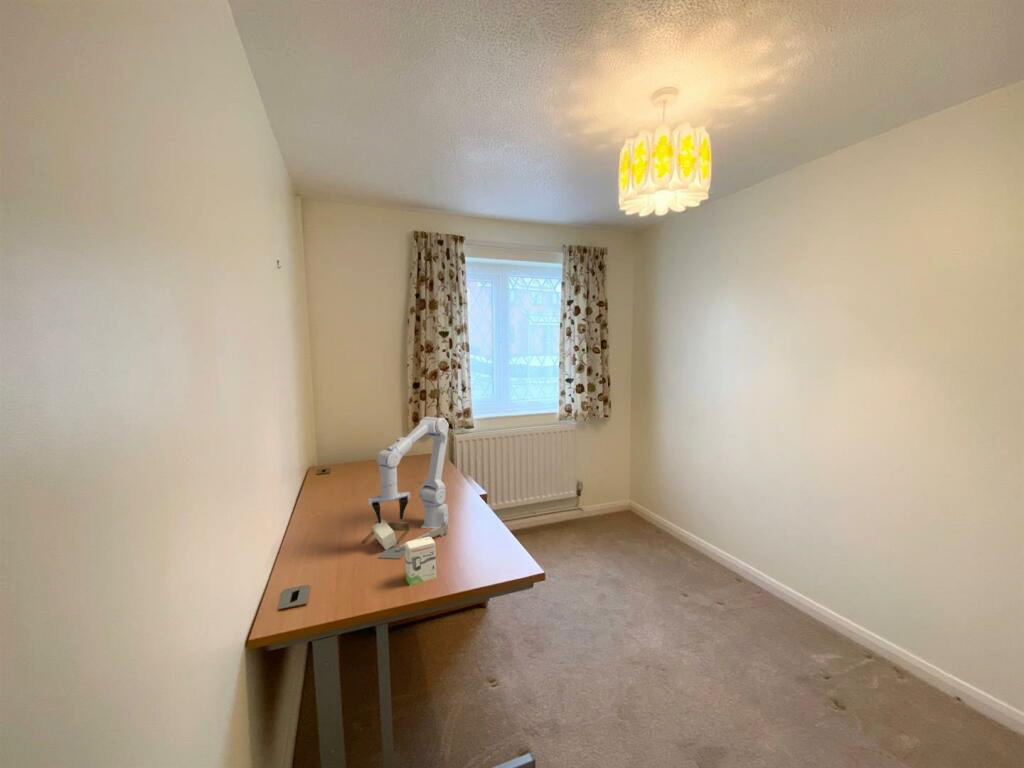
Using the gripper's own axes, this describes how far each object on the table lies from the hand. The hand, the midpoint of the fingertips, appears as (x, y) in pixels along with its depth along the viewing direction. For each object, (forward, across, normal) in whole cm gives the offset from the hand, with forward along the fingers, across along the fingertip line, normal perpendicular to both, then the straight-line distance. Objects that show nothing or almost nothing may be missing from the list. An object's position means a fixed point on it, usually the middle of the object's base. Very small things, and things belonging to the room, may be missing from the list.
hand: (390, 520), depth 146 cm
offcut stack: (+10, +2, -6) cm, 12 cm away
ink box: (+11, -5, +26) cm, 28 cm away
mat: (+10, 0, +5) cm, 11 cm away
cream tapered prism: (+6, +1, +3) cm, 7 cm away
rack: (+10, 0, -10) cm, 14 cm away
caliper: (+11, -10, +3) cm, 15 cm away
